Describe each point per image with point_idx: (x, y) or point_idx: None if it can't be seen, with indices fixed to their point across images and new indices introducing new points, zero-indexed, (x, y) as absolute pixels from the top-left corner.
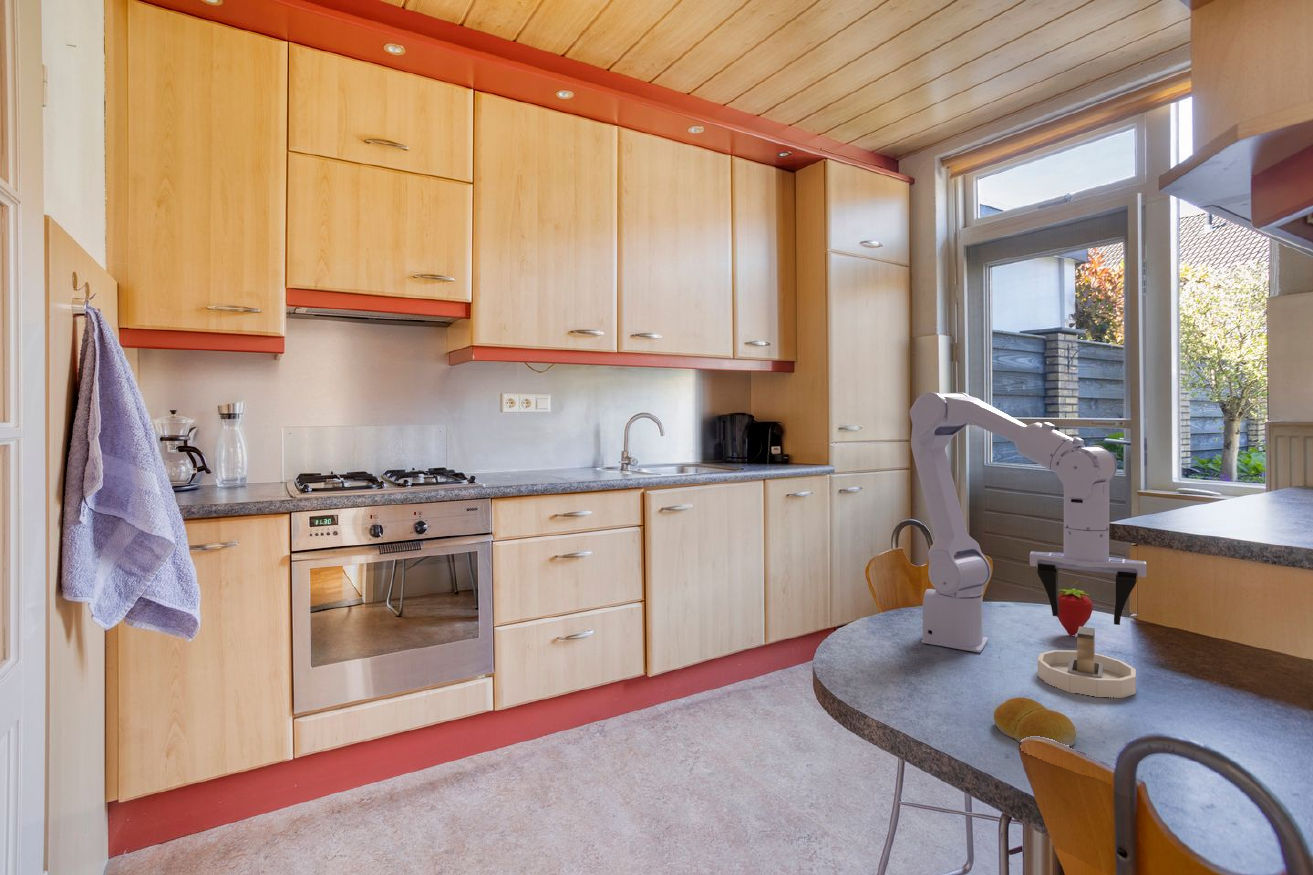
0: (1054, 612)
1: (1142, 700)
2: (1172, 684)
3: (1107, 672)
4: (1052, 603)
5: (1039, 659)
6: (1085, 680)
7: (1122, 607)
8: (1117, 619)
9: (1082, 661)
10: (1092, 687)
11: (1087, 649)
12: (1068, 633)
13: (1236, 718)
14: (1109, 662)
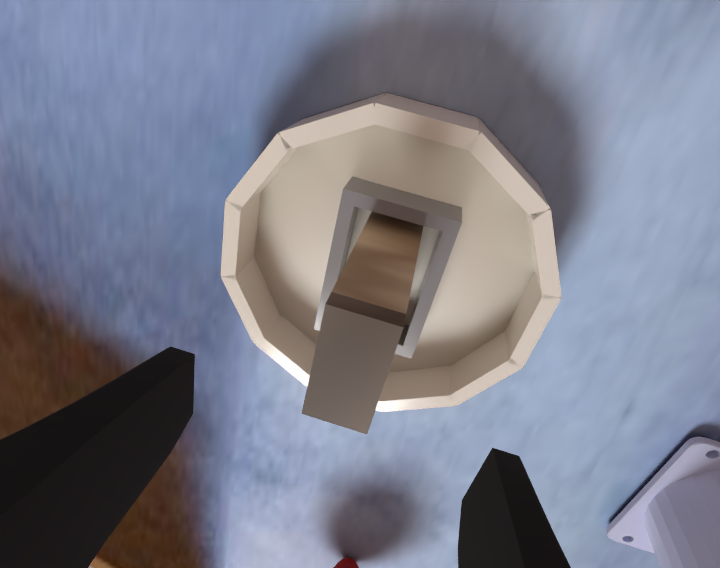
0: (517, 471)
1: (240, 121)
2: (156, 289)
3: (309, 319)
4: (545, 534)
5: (551, 302)
6: (419, 113)
7: (59, 411)
8: (155, 362)
9: (397, 249)
10: (396, 100)
11: (369, 271)
12: (356, 563)
13: (2, 49)
14: (293, 349)
